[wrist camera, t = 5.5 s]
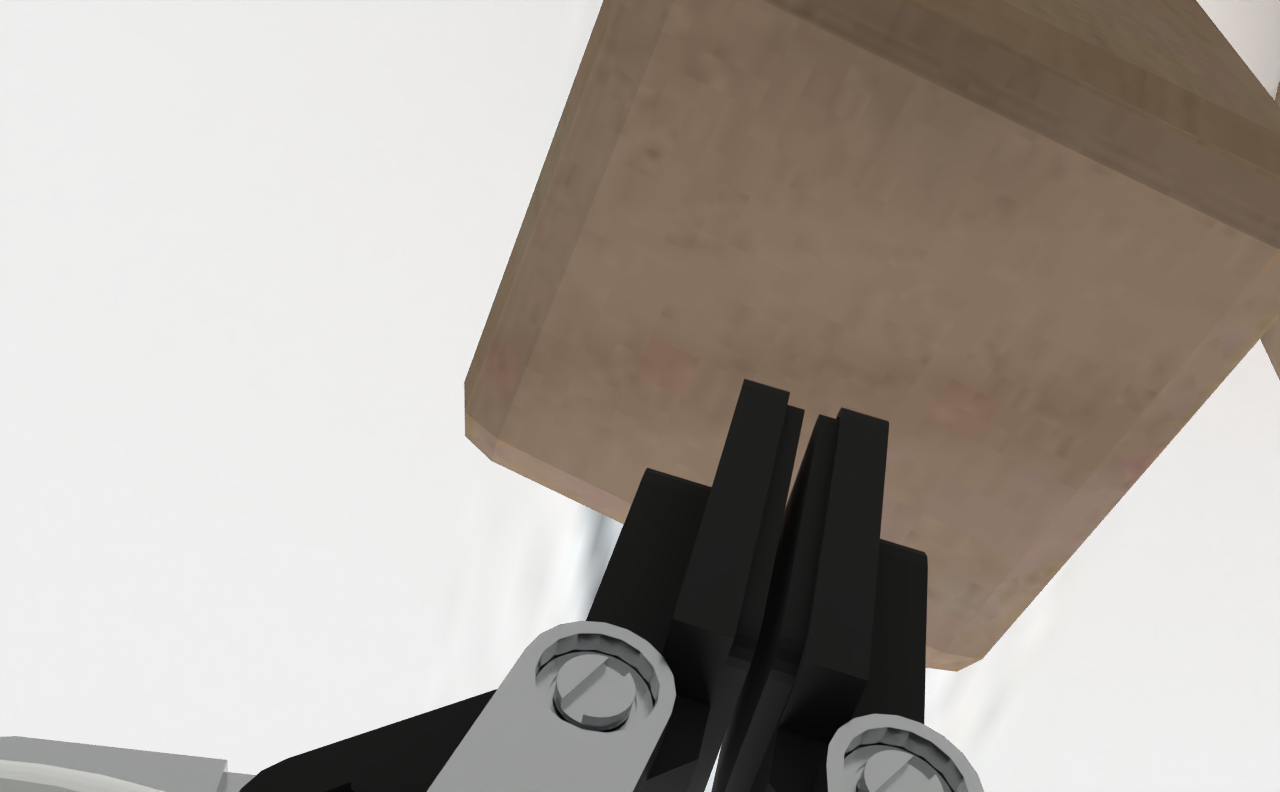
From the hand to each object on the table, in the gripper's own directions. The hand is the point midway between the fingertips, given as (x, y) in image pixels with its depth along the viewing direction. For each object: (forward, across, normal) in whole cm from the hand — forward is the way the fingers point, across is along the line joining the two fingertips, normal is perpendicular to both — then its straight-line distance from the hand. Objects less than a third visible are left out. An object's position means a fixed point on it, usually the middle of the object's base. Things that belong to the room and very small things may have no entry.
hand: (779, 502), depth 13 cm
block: (+24, -1, 0) cm, 24 cm away
